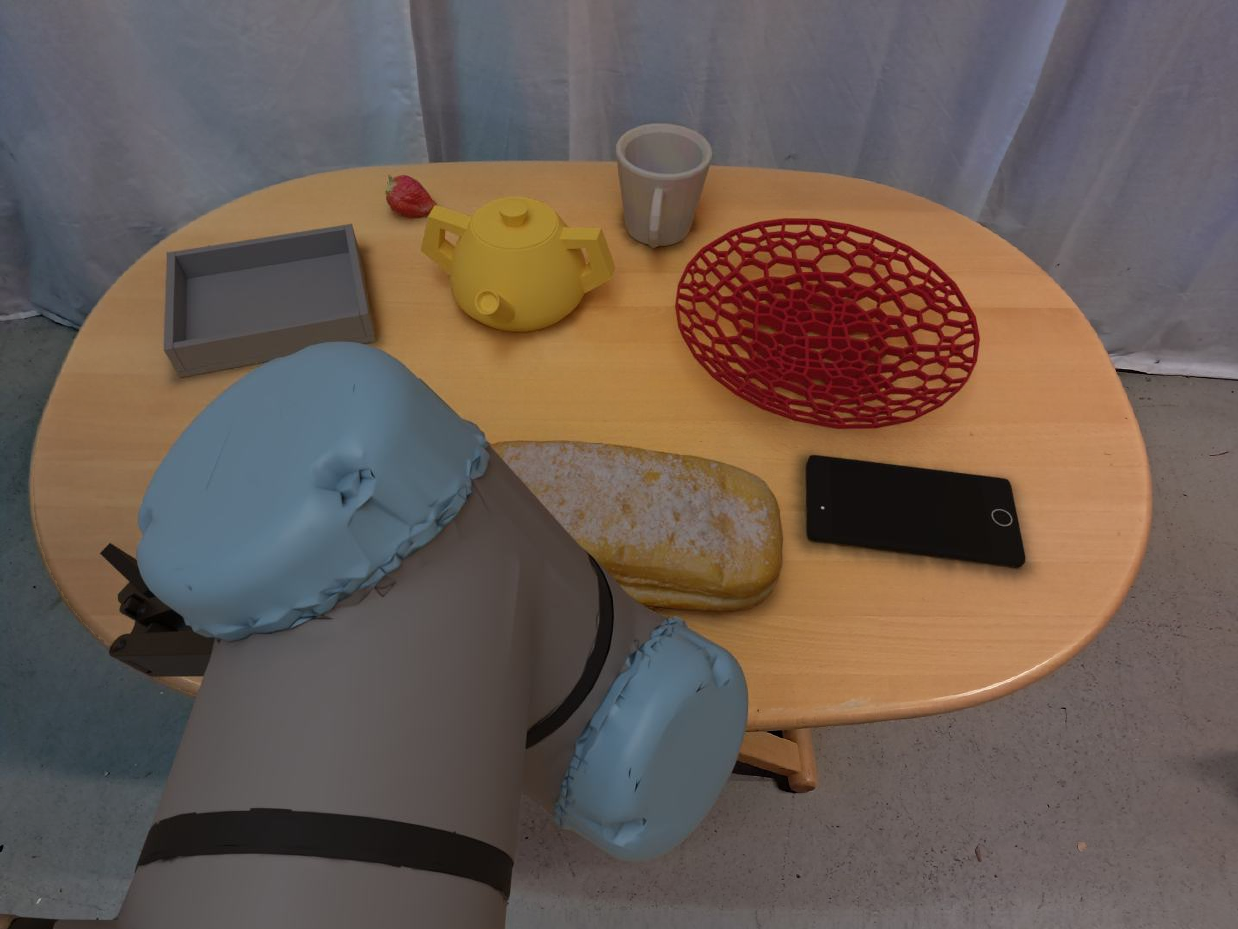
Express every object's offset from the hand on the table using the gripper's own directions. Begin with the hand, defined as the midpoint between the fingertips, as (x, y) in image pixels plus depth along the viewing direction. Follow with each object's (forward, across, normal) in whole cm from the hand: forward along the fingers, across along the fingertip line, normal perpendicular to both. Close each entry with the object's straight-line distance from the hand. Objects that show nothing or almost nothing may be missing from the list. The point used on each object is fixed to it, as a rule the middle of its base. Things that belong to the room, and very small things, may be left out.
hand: (210, 469), depth 48 cm
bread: (-8, +15, -27) cm, 32 cm away
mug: (+13, +51, -26) cm, 59 cm away
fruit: (+36, +38, -14) cm, 54 cm away
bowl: (-9, +46, -34) cm, 58 cm away
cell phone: (-24, +32, -37) cm, 55 cm away
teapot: (+17, +33, -21) cm, 42 cm away
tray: (+34, +18, -10) cm, 40 cm away
